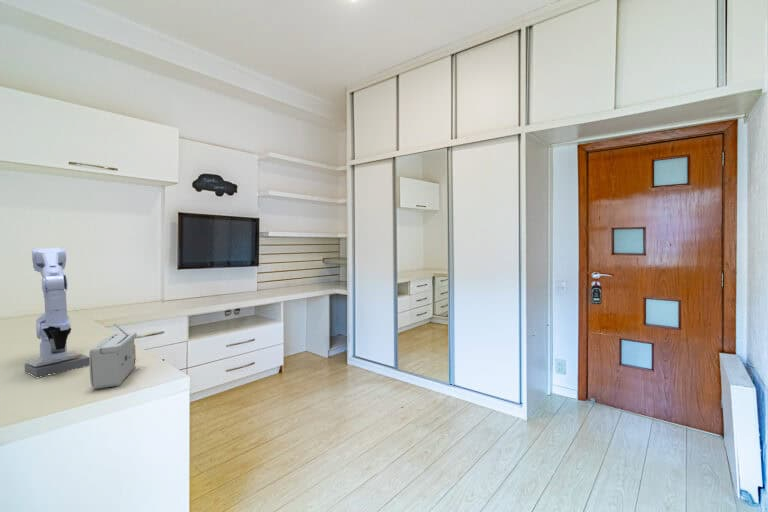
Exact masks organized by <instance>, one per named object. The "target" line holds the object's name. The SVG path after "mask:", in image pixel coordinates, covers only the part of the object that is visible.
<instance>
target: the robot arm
mask: <svg viewBox="0 0 768 512" xmlns="http://www.w3.org/2000/svg"><path fill="white" fill-rule="evenodd" d="M31 258H32V260H31V261H32V265H33V266H32V267H33V269H34V271H35V272H38V273H40V275H41V277H42V278H41V290H42V293H43V299H44V313H43V314H42V315H40V316H39V317H38V318H37V319H36V324H35V327H36V328H35V330H36V332H35V333H36V338H37V340H38V339H39V340H40V343H39V358H41V357H46V356H51V355H56V354H51V352H50V339H51V338H53V339H54V343H55V347H56V350H59V349H64V348H65V347H66V351H65V352H68V342H67V340H68V336H69V335H70V334H71V331H72V328H71V321H70V316H69V314H68V310H67V309H68V307H67V306H68V305H67V291H68V285H69V284H68V277H67V274H65V272H64V270H65V267H66V263H67V251H66V248H64V247H53V248H52V247H51V248H49V247H48V248H45V247H43V248H41V247H39V248H35V247H34V248H32V249H31ZM65 352H62V353H65ZM57 354H60V353H57Z"/></svg>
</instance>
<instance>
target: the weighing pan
mask: <svg viewBox="0 0 768 512" xmlns="http://www.w3.org/2000/svg"><path fill="white" fill-rule="evenodd" d="M81 354H82V353H79V352H76V351H73V350H71V351H67V352H65V353H60V354H56V355H51V356H46V357H41V358H40V357H37V358H33V359H27V360H26V363H28V364H30V365H32V366H34V367H36V366H41V365H45V364H50V363H54V362H59V361H63V360H68V359H72V358H77V357H81Z"/></svg>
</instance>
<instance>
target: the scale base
mask: <svg viewBox="0 0 768 512" xmlns="http://www.w3.org/2000/svg"><path fill="white" fill-rule="evenodd" d="M80 354H81V357H77V358H72V359H68V360H63V361H59V362H54V363H50V364H45V365H41V366H36V367H34V366H32V365H30V364H28V363H27V362H26V363H24V373H26V372H27V373H26V374H28V373H30V374H32V375H33V376H32V375H31V376H32V377H34V376H35V377H40V376H44V377H46V376H45V375H48V374H52V375H54V374H53V373H56V374H59V373H58V372H60V373H63V372H62V371H65V372H68V371H67V370H69V371H73V370H77V369H80V367H81V368H85V367H88V365H89V356H88V355H87V356H86V355H84V354H82V353H80ZM84 366H85V367H84ZM76 368H77V369H76ZM72 369H73V370H72ZM30 374H29V375H30ZM48 376H49V375H48ZM35 377H34V378H35ZM40 378H41V377H40Z"/></svg>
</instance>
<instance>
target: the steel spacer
mask: <svg viewBox="0 0 768 512" xmlns="http://www.w3.org/2000/svg"><path fill="white" fill-rule="evenodd" d="M65 351H66V347H65V348H64V349H59V350H56V347H55V343H54V339H53V338H51V339H50V352H51V354H57V353H62V352H65Z"/></svg>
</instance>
